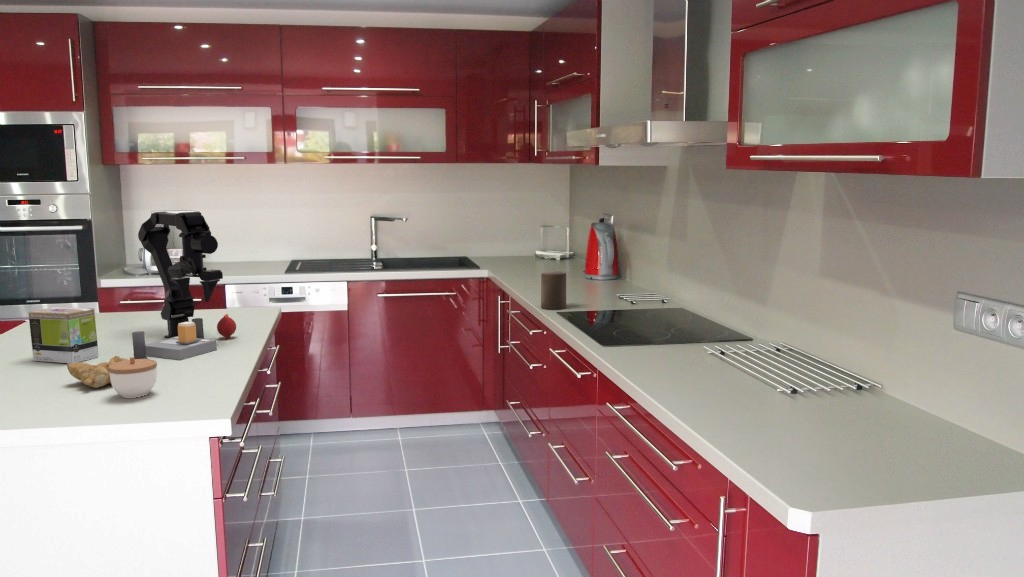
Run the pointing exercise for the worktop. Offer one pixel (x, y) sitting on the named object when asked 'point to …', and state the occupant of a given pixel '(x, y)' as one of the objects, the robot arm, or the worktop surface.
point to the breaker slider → (187, 333)
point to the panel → (179, 348)
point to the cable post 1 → (139, 345)
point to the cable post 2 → (199, 327)
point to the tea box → (63, 334)
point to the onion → (226, 326)
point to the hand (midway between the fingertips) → (196, 301)
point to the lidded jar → (133, 377)
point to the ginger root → (93, 372)
